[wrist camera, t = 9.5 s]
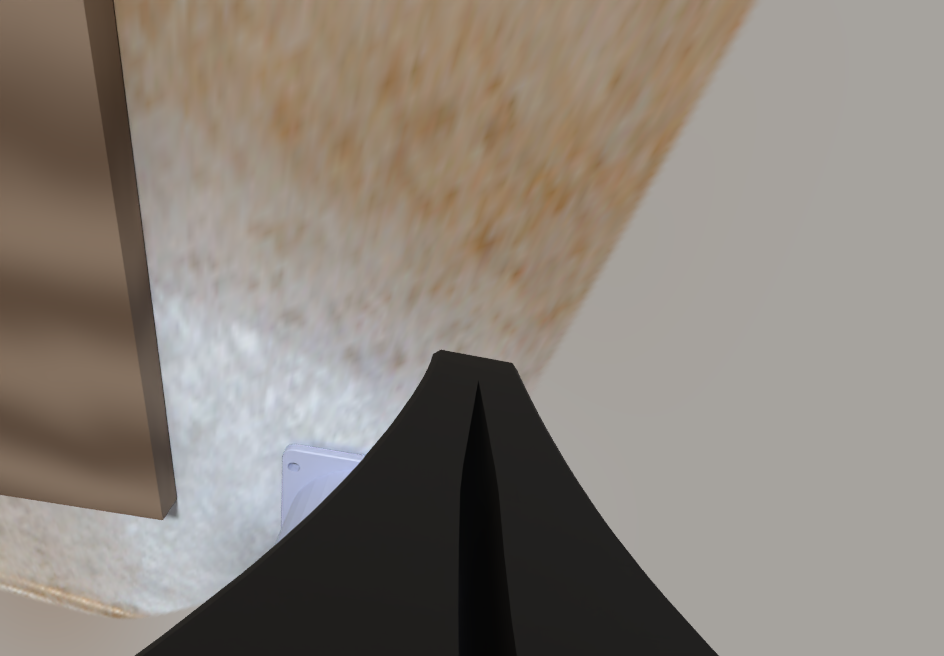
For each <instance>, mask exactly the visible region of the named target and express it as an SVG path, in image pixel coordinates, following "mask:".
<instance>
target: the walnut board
mask: <svg viewBox="0 0 944 656" xmlns="http://www.w3.org/2000/svg"><path fill="white" fill-rule="evenodd" d="M0 495H6V496H12V497H18V498H25V499H31V500H37V501H44V502H50V503H56V504H63V505H69V506H75V507H82V508H88V509H95V510H101V511H107V512H114V513H120V514H126V515H133V516H139V517H145V518H152V519H158V520H163V519H164V518H165V516H166V515H167V513H168V512H169V510H170V509H171V507H172V505H173V504H174V502H175V501H176V499H177V497H176V489H175V481H174V474H173V466H172V458H171V450H170V443H169V435H168V427H167V419H166V411H165V404H164V396H163V388H162V380H161V373H160V365H159V357H158V349H157V341H156V334H155V326H154V318H153V310H152V303H151V295H150V287H149V279H148V272H147V264H146V256H145V248H144V240H143V233H142V225H141V217H140V209H139V202H138V194H137V186H136V178H135V171H134V163H133V155H132V147H131V139H130V132H129V124H128V116H127V108H126V101H125V93H124V85H123V77H122V69H121V62H120V54H119V46H118V38H117V31H116V23H115V15H114V7H113V0H0Z"/></svg>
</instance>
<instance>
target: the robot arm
mask: <svg viewBox="0 0 944 656" xmlns="http://www.w3.org/2000/svg"><path fill="white" fill-rule="evenodd" d="M293 463H296V464H298V465H296V464H293ZM135 656H718V655H717V653H716V652H715V651H714V650H713V649H712V648H711V647H710V646H709V645H708V644H707V643H706V641H705V640H704V639H703V638H702V637H701V636H700V635H699V634H698V633H697V632H696V630H695V629H694V628H693V627H692V626H691V625H690V624H689V623H688V622H687V621H686V619H685V618H684V617H683V616H682V615H681V614H680V613H679V612H678V611H677V609H676V608H675V607H674V606H673V605H672V604H671V603H670V602H669V601H668V599H667V598H666V597H665V596H664V595H663V594H662V592H661V591H660V590H659V589H658V588H657V587H656V586H655V584H654V583H653V582H652V581H651V580H650V578H649V577H648V576H647V575H646V574H645V572H644V571H643V570H642V569H641V568H640V566H639V565H638V564H637V562H636V561H635V560H634V559H633V557H632V556H631V555H630V553H629V552H628V551H627V550H626V548H625V547H624V546H623V544H622V543H621V542H620V541H619V539H618V538H617V537H616V536H615V534H614V533H613V532H612V530H611V529H610V528H609V526H608V525H607V523H606V522H605V521H604V519H603V518H602V516H601V515H600V513H599V512H598V511H597V509H596V508H595V506H594V505H593V503H592V502H591V500H590V499H589V497H588V496H587V494H586V493H585V491H584V490H583V488H582V487H581V485H580V484H579V482H578V481H577V479H576V478H575V476H574V474H573V473H572V471H571V470H570V468H569V466H568V465H567V463H566V462H565V460H564V458H563V456H562V455H561V453H560V451H559V450H558V448H557V446H556V444H555V443H554V441H553V439H552V437H551V436H550V434H549V432H548V431H547V429H546V427H545V425H544V423H543V422H542V420H541V418H540V416H539V414H538V412H537V410H536V408H535V406H534V404H533V402H532V400H531V398H530V396H529V394H528V392H527V390H526V388H525V386H524V384H523V382H522V380H521V378H520V376H519V374H518V371H517V369H516V368H515V366H514V365H513V363H509V362H504V361H499V360H493V359H488V358H482V357H477V356H472V355H466V354H461V353H456V352H450V351H445V350H440V351H438V352H436V353H434V354H433V356H432V359H431V362H430V365H429V367H428V369H427V371H426V373H425V375H424V377H423V379H422V380H421V382H420V384H419V385H418V387H417V388H416V390H415V392H414V393H413V395H412V396H411V398H410V399H409V401H408V402H407V403H406V405H405V406H404V408H403V409H402V410H401V412H400V413H399V415H398V416H397V417H396V419H395V420H394V422H393V423H392V424H391V426H390V427H389V428H388V429H387V431H386V432H385V433H384V434H383V435H382V437H381V438H380V439H379V440H378V441H377V443H376V444H375V445H374V446H373V447H372V449H371V450H370V451H369V452H368V453H367V455H366V456H364V455H358V454H352V453H346V452H340V451H334V450H328V449H322V448H317V447H311V446H305V445H299V444H291V445H288V446H287V447H286V448H285V451H284V453H283V456H282V505H281V531H280V533H279V536H278V538H277V541H276V543H275V545H274V547H273V548H271V549H270V550H269V551H268V552H267V553H266V554H264V555H263V556H262V557H261V558H260V559H259V560H257V561H256V562H255V563H254V564H253V565H251V566H250V567H249V568H248V569H247V570H245V571H244V572H243V573H242V574H241V575H239V576H238V577H237V578H236V579H234V580H233V581H232V582H230V583H229V584H228V585H227V586H225V587H224V588H223V589H221V590H220V591H219V592H218V593H216V594H215V595H214V596H212V597H211V598H210V599H209V600H207V601H206V602H205V603H203V604H202V605H201V606H200V607H198V608H197V609H196V610H194V611H193V612H192V613H191V614H189V615H188V616H187V617H185V618H184V619H183V620H182V621H180V622H179V623H178V624H176V625H175V626H174V627H173V628H171V629H170V630H169V631H168V632H166V633H165V634H164V635H162V636H161V637H160V638H158V639H157V640H156V641H154V642H153V643H151V644H150V645H149V646H147V647H146V648H145V649H143V650H142V651H141V652H139V653H138V654H136V655H135Z"/></svg>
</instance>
